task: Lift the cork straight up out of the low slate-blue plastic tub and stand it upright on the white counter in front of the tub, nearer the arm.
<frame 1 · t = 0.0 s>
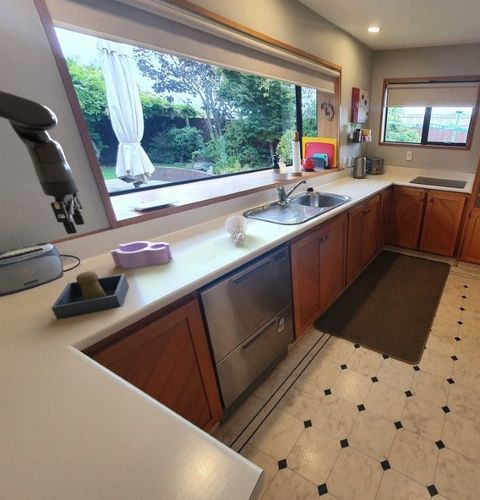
hand: (76, 228, 90), 25 cm above the counter, tool pointing down, fingers open, 8 cm apart
cork: (97, 301, 95), resting on tub
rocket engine: (236, 240, 148), on the counter
tub: (97, 302, 95), on the counter
clip: (145, 261, 123), on the counter
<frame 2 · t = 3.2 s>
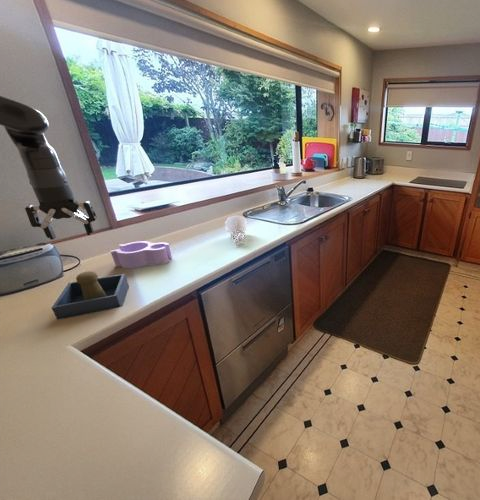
hand: (72, 236, 86), 24 cm above the counter, tool pointing down, fingers open, 8 cm apart
nothing on the counter moved.
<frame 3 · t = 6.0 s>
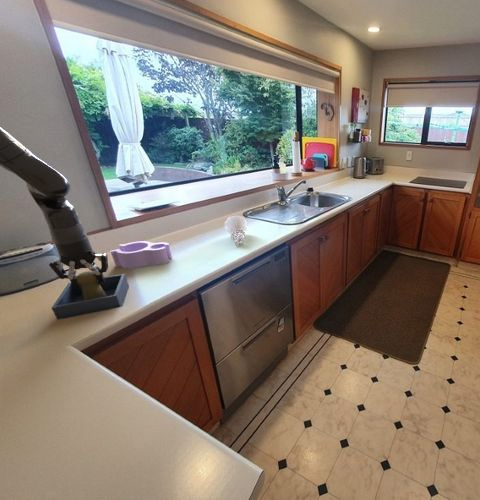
hand: (90, 285, 93), 7 cm above the counter, tool pointing down, fingers closed on cork, 5 cm apart
cork: (97, 301, 95), resting on tub, touching gripper
everything else where it was.
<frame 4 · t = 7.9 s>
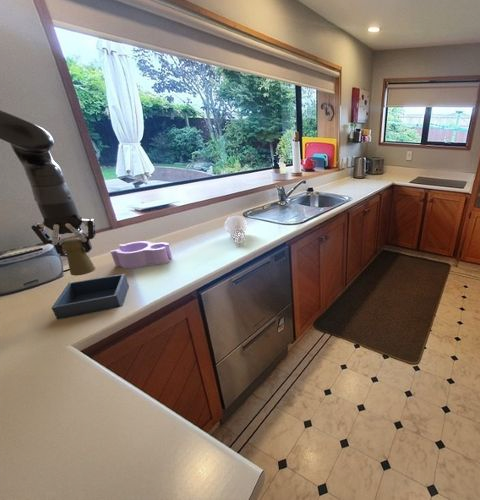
hand: (76, 252, 87), 19 cm above the counter, tool pointing down, fingers closed on cork, 5 cm apart
cork: (83, 271, 90), point 12 cm above the counter, touching gripper
everything else where it was.
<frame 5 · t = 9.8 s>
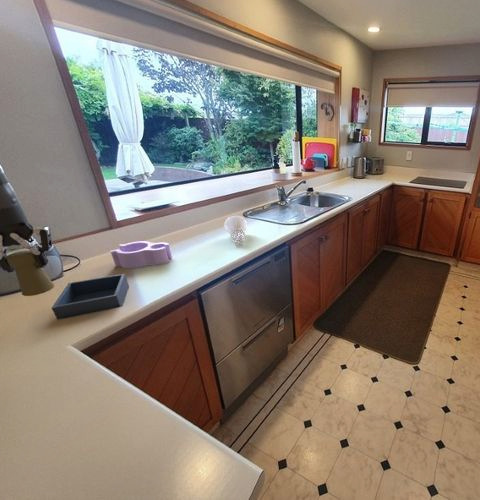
hand: (27, 268, 72), 22 cm above the counter, tool pointing down, fingers closed on cork, 5 cm apart
cork: (38, 290, 74), point 16 cm above the counter, touching gripper
everything else where it was.
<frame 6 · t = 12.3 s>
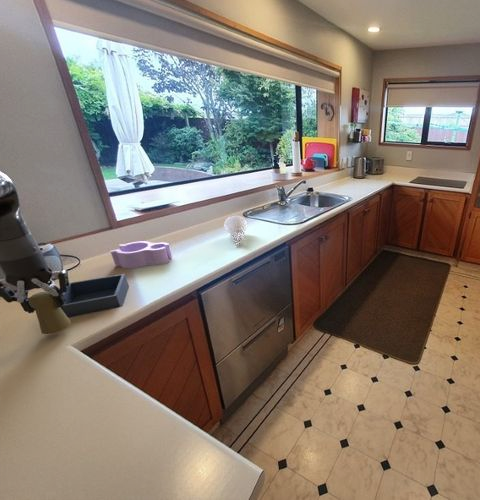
hand: (47, 308, 76), 10 cm above the counter, tool pointing down, fingers closed on cork, 5 cm apart
cork: (57, 327, 79), point 3 cm above the counter, touching gripper
everything else where it was.
when the fingers open (6 cm above the counter, at t = 13.8 s): cork stays where it is, on the counter.
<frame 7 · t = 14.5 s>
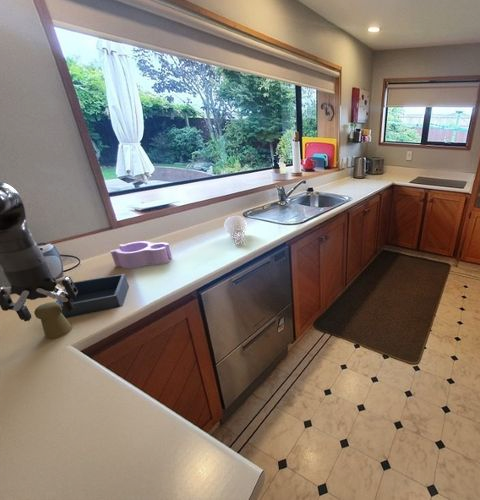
hand: (49, 315, 77), 8 cm above the counter, tool pointing down, fingers open, 8 cm apart
cork: (62, 337, 81), on the counter
everything else where it was.
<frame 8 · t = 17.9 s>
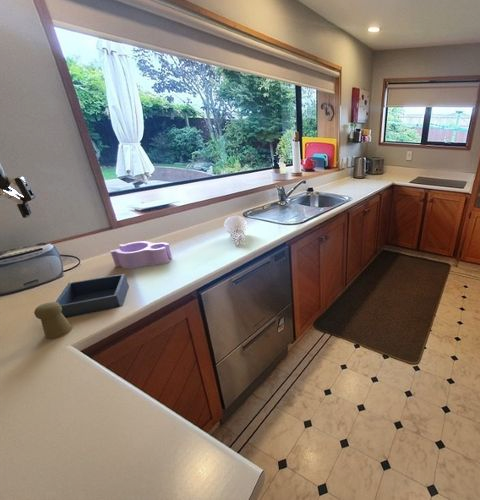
hand: (4, 218, 73), 33 cm above the counter, tool pointing down, fingers open, 8 cm apart
nothing on the counter moved.
at the end: cork inside the target area (0.1 cm from its centre), on the counter; cork touching counter; cork tilted 0° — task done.
